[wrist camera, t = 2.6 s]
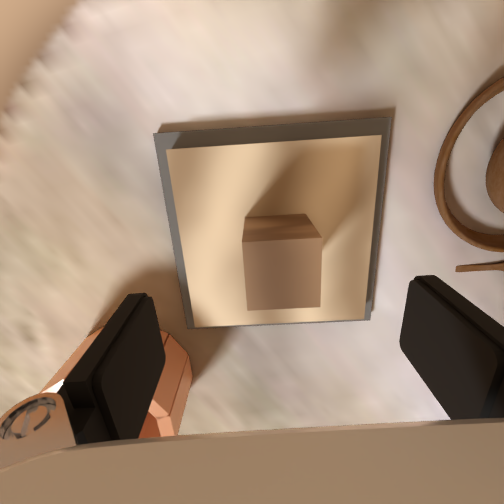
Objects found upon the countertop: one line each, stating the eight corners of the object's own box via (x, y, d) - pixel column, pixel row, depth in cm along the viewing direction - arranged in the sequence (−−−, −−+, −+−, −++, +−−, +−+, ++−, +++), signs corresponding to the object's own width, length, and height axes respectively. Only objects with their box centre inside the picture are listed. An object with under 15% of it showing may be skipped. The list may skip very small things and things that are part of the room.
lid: (373, 135, 18) (430, 132, 12) (358, 310, 23) (394, 368, 17) (171, 149, 18) (133, 152, 13) (197, 318, 23) (179, 377, 17)
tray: (387, 117, 18) (391, 116, 18) (367, 315, 24) (370, 320, 23) (156, 133, 19) (153, 133, 18) (188, 324, 24) (187, 329, 24)
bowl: (182, 319, 24) (160, 374, 18) (197, 406, 28) (183, 474, 22) (66, 325, 24) (10, 381, 19) (96, 410, 28) (57, 478, 22)
